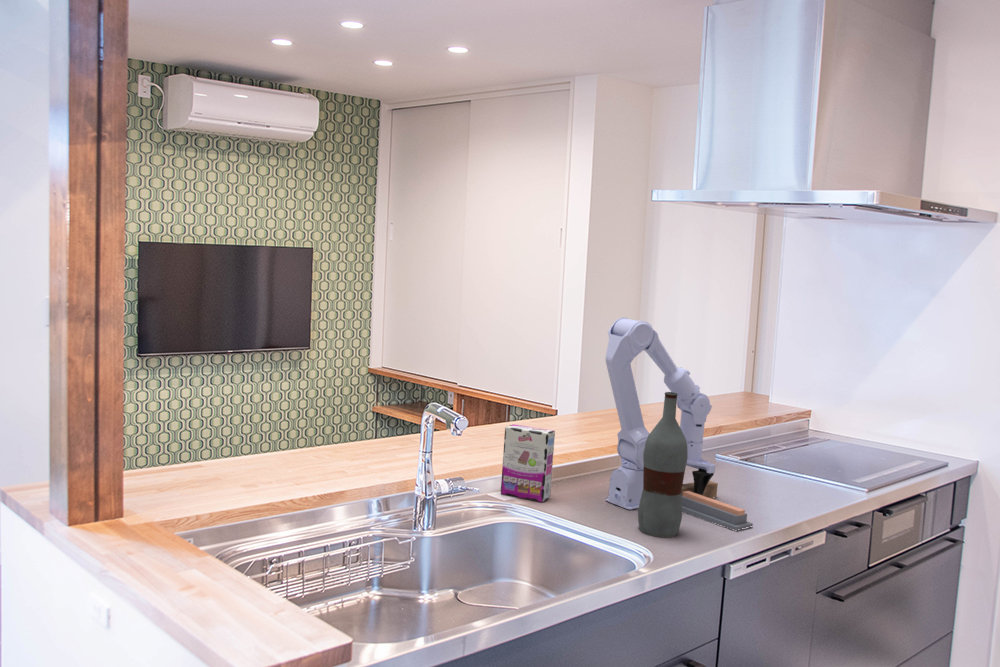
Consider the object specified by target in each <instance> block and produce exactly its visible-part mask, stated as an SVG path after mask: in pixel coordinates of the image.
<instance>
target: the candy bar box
mask: <svg viewBox="0 0 1000 667" xmlns="http://www.w3.org/2000/svg"><path fill="white" fill-rule="evenodd" d="M555 435H556V430H552V429H546V428H542V427H541V428H540V427H532V426H525V425H522V424H521V425H519V424H510V425H507V426H505V427H504V439H503V455H502V470H501V481H500V482H501V484H500V495H504V496H508V497H514V498H519V499H524V500H530V501H534V502H539V503H543V502H545V501H548V500H549V499H550V498H551V490H552V478H553V477H552V476H553V463H554V451H555V450H554V448H555V438H556V437H555Z"/></svg>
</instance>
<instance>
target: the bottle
mask: <svg viewBox="0 0 1000 667" xmlns="http://www.w3.org/2000/svg"><path fill="white" fill-rule="evenodd" d="M677 395H678V394H677V393H674V392H671V391H665V392H664V402H663V412H662V417H661V418H660V419H659V421H658V422H657V424H655V426H654V427H653V429H652V430H651V431H650V432H649V433H650V434H649V435H648V438H647V440H646V443H645V448H644V453H643V461H644V472H643V491H642V495H641V499H640V504H639V508H637V516H638V517H637V520H638V522H637V523H638V527H639V530H640V532H641V533H643V534H646V535H648V536H652V537H656V538H657V537H659V538H672V536H673V537H675V536H677V535H678V532H679V530H680V527H681V522H682V518H683V512H682V495H681V491H682V485H683V484H684V478H685V474H686V472H685V471H686V466H687V465H686V463H687V459H688V449H687V441H686V438H685V436H684V434H683V432H682V430H681V428H680V423H679V422H678V421H677V419H676V418H677V417H676V416H677Z"/></svg>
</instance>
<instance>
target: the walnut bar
mask: <svg viewBox="0 0 1000 667" xmlns="http://www.w3.org/2000/svg"><path fill="white" fill-rule="evenodd" d="M718 486H719V485H718V482H715V481H712V480H709V482H708V484H707V486H706V488H705V490H704V493H703V495H702V496H705V497H708V498H712V499H714V498H713V497H716V498H717V496H718ZM685 491H691V492H693V493H694V482H688V483H683V485H682V491H681V495H682V496H683V492H685Z"/></svg>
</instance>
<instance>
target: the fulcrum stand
mask: <svg viewBox="0 0 1000 667" xmlns="http://www.w3.org/2000/svg"><path fill="white" fill-rule="evenodd" d="M684 512H685V514H687V513H688V514H687V515H690V516H692V515H693V517H695V518H697V519H700V518H701V519H700V520H703V519H704V521H706V520H707V521H706V522H708V521H710V522H709V523H711V522H713V523H712V524H714V523H716V524H715V525H717V524H719V525H722V526H725V527H728V528H731V529H734V530H738V529H742V528H746V527H750V526H754V523H753V522H750V521H747V520H748V513H746V509H743V508H740V507H737V506H734V505H731V504H728V503H725V502H722V501H720V500H716V499H715V498H712V499H711V498H708V497H705V496H702V495H699V494H696V493H693V492H691V491H685V492H683V496H682V513H684ZM719 525H718V526H719ZM722 526H721V527H722ZM725 527H724V528H725Z"/></svg>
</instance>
